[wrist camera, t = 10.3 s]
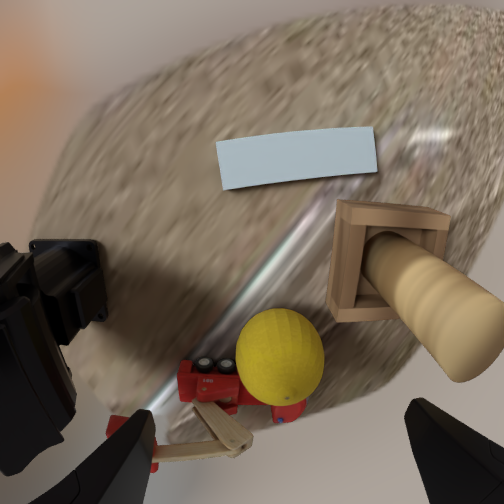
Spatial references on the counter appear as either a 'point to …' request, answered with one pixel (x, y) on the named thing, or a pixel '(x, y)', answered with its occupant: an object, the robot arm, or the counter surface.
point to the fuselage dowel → (436, 304)
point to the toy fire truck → (213, 412)
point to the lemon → (279, 357)
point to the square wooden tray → (351, 248)
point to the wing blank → (296, 156)
